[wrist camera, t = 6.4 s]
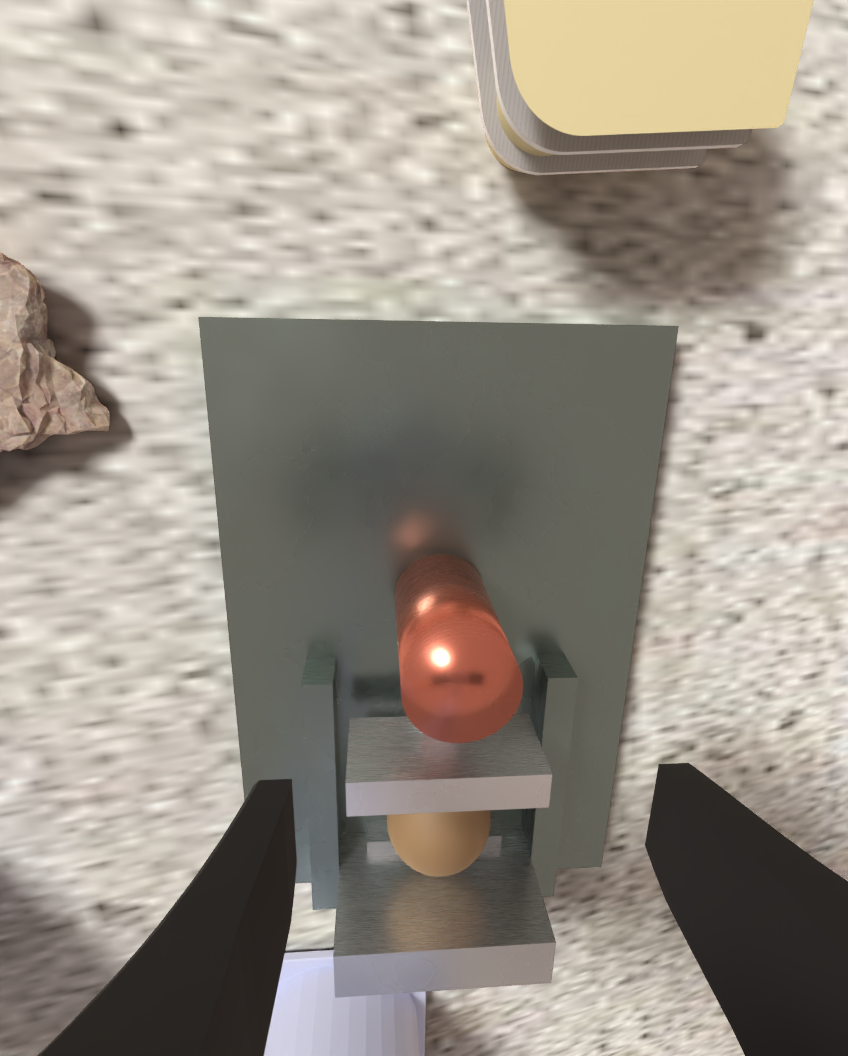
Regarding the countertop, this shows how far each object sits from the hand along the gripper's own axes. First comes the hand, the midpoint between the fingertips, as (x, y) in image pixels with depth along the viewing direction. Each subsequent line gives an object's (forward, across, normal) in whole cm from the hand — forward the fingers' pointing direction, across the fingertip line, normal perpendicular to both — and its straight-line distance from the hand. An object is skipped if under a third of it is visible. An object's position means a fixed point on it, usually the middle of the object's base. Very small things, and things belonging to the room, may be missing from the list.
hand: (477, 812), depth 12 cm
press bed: (+10, 0, +1) cm, 10 cm away
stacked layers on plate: (+11, -4, -16) cm, 19 cm away
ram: (+9, 0, +1) cm, 9 cm away
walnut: (+9, 0, +7) cm, 12 cm away
